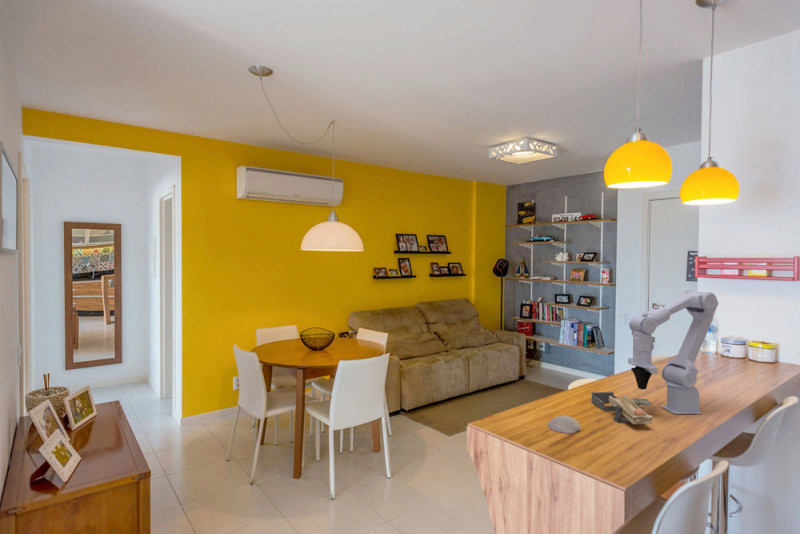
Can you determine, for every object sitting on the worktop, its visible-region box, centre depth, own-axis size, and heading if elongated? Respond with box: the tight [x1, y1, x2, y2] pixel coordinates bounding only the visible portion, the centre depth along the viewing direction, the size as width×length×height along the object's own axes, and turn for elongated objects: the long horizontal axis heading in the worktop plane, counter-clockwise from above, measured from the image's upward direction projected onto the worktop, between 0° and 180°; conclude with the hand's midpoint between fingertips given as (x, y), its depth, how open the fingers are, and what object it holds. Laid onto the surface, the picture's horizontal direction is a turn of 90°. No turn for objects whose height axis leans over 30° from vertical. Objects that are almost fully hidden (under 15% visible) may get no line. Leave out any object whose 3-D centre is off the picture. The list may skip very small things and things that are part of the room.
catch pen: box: [591, 391, 619, 412], centre depth 160 cm, size 8×9×4 cm
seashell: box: [547, 415, 581, 434], centre depth 141 cm, size 10×6×10 cm
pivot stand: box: [612, 405, 644, 424], centre depth 146 cm, size 9×4×5 cm, turn 91°
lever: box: [609, 395, 653, 425], centre depth 146 cm, size 13×16×2 cm
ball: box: [634, 408, 645, 416], centre depth 140 cm, size 3×3×3 cm
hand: (642, 388), depth 152 cm, fingers closed
